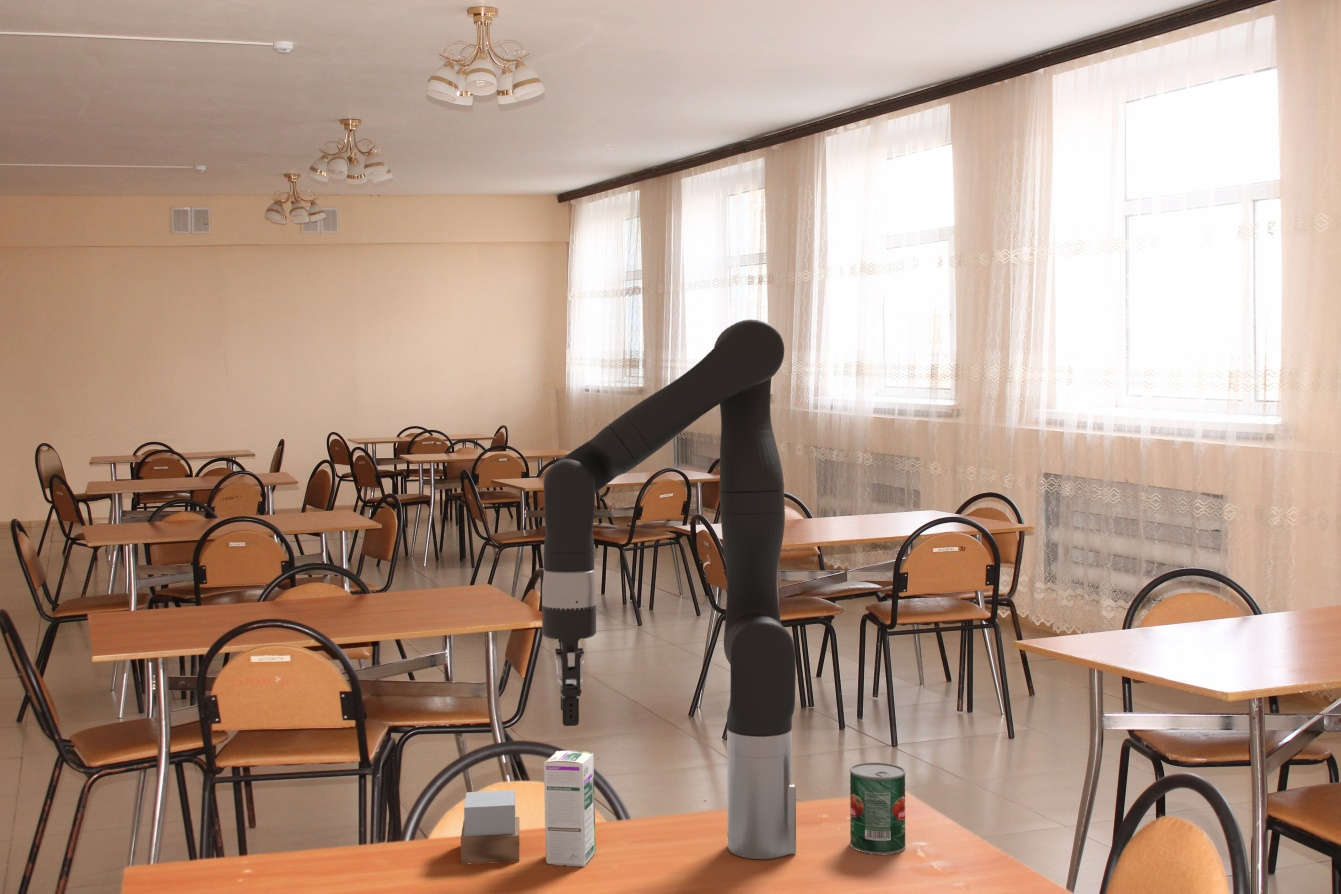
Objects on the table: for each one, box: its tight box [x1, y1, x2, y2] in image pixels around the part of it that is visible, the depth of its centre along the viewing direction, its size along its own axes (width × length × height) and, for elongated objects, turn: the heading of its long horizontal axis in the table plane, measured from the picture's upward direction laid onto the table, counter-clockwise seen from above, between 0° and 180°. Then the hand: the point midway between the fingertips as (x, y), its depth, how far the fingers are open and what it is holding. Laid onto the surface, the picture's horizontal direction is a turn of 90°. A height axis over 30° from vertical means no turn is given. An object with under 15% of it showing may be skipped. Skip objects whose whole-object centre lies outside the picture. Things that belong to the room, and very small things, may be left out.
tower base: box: [460, 816, 521, 865], centre depth 169 cm, size 8×8×4 cm
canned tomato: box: [849, 762, 906, 856], centre depth 171 cm, size 8×8×11 cm
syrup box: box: [543, 750, 597, 868], centre depth 167 cm, size 6×6×14 cm
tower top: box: [463, 789, 516, 836], centre depth 169 cm, size 7×7×4 cm
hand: (569, 717), depth 166 cm, fingers open, 8 cm apart
